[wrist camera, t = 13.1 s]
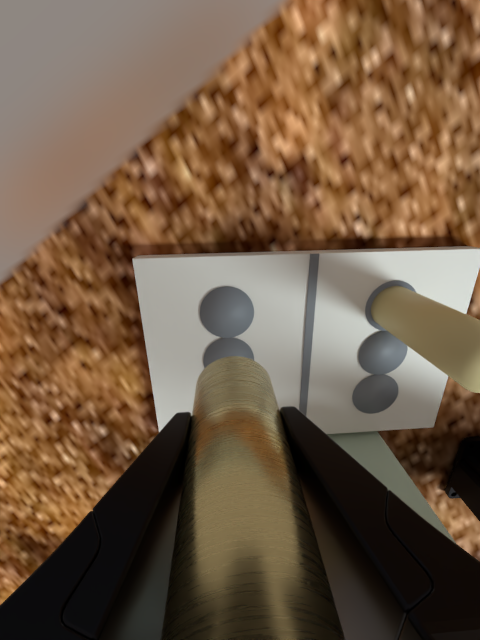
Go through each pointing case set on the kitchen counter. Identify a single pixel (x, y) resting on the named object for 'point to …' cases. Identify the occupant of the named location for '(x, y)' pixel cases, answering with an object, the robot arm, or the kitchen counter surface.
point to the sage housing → (387, 471)
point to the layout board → (317, 329)
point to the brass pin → (244, 522)
